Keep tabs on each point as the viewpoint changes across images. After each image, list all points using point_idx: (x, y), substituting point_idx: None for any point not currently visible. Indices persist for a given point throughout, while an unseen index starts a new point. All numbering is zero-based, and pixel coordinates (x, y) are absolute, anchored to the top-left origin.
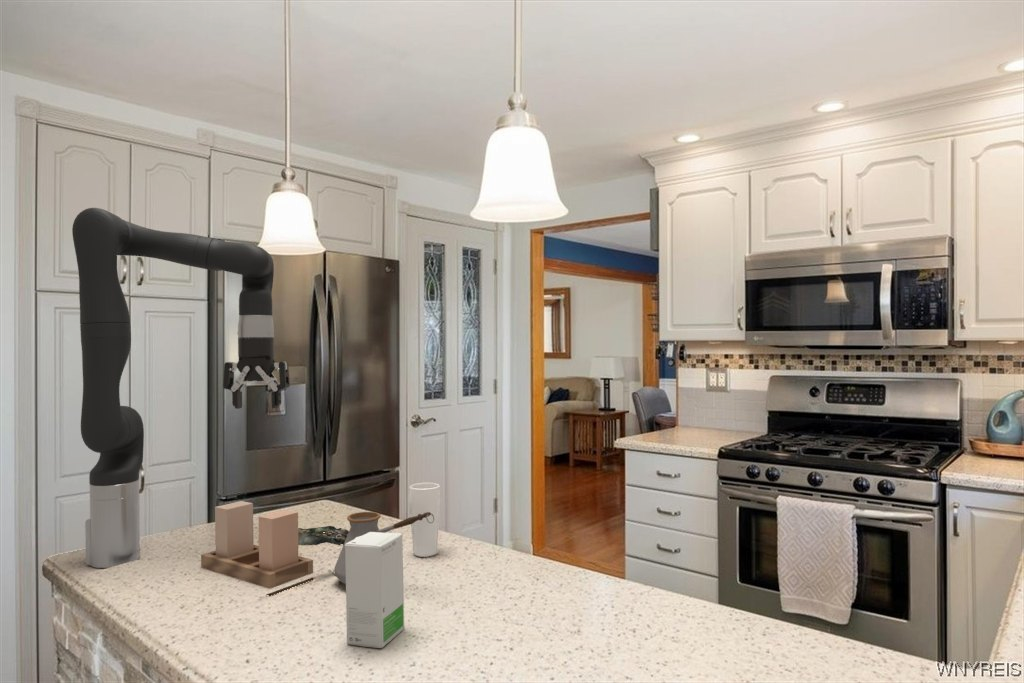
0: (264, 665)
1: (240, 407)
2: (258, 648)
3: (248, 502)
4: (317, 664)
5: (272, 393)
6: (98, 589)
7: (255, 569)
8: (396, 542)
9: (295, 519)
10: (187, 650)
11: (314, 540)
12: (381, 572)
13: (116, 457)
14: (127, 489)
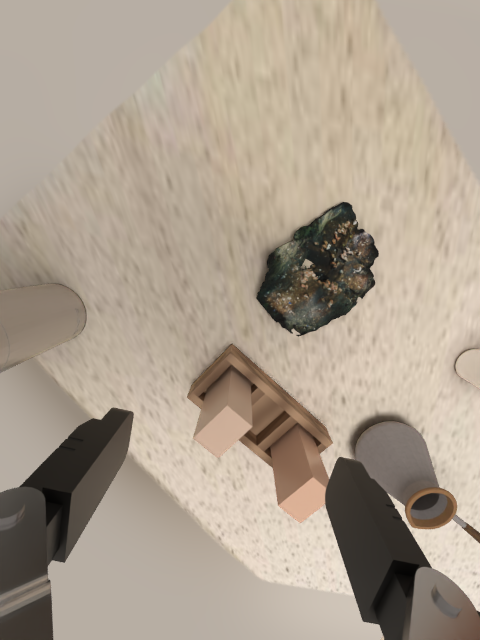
0: (300, 577)
1: (130, 428)
2: (291, 554)
3: (243, 419)
4: (337, 582)
5: (363, 606)
6: (94, 409)
7: (268, 462)
8: None
9: None
10: (238, 548)
11: (324, 316)
12: None
13: None
14: None
